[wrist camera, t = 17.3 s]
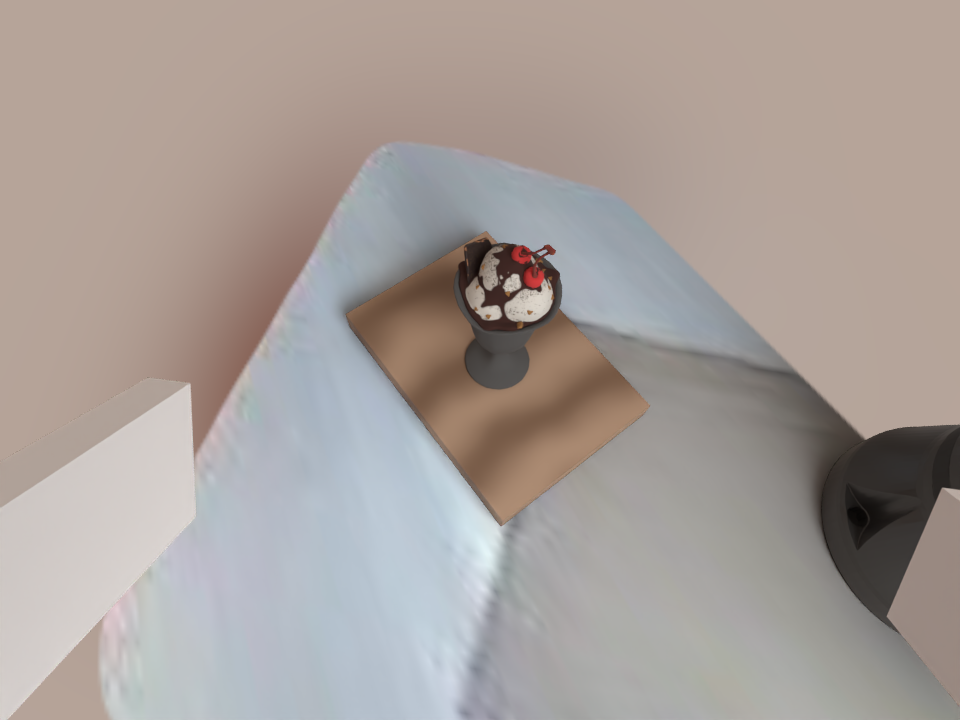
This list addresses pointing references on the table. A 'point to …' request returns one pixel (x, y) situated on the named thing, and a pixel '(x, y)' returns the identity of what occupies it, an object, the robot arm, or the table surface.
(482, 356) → the sundae
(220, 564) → the table surface
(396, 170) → the table surface
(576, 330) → the brown flat wooden slab
